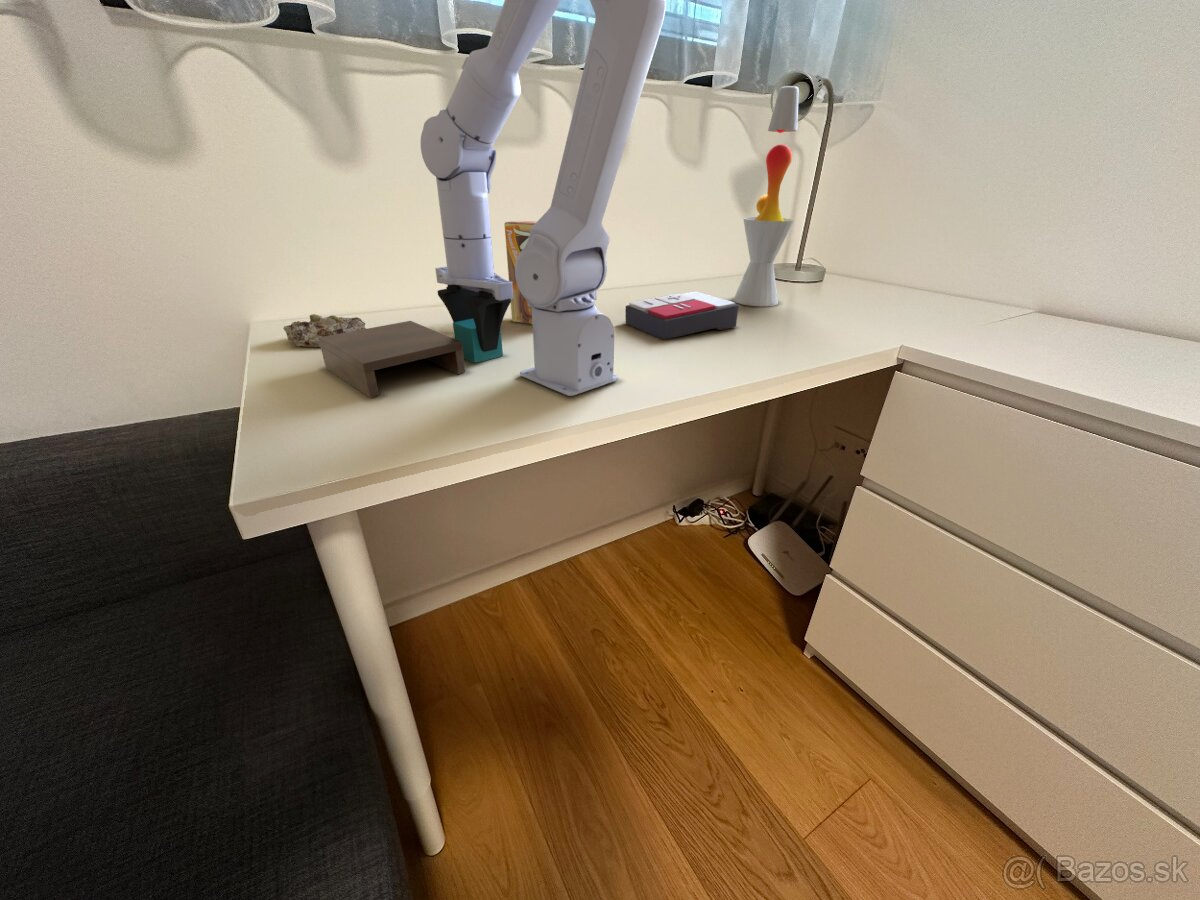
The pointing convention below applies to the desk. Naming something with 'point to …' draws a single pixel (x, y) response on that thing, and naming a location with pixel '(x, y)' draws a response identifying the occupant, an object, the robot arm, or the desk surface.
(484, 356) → the cube
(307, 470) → the desk surface
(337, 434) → the desk surface
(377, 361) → the shelf
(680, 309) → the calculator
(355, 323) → the mineral rock
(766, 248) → the lava lamp
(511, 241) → the candy box
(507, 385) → the desk surface
